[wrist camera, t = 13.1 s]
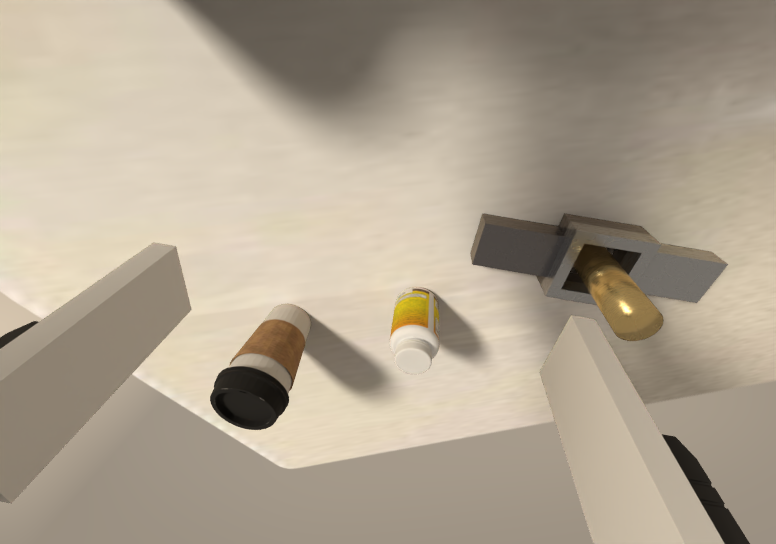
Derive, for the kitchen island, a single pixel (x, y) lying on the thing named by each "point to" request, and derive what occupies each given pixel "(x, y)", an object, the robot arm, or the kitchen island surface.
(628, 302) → the pin
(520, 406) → the kitchen island surface
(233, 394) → the coffee cup
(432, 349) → the supplement bottle
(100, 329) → the robot arm
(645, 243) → the grey plate with loop
